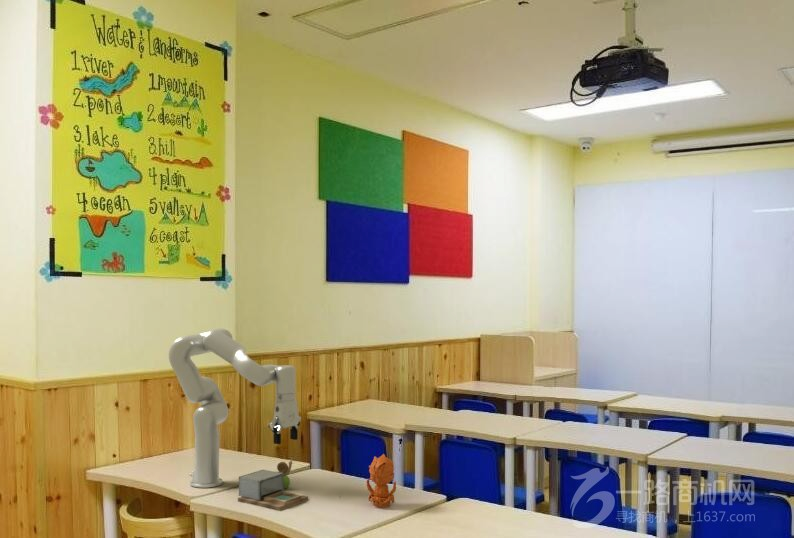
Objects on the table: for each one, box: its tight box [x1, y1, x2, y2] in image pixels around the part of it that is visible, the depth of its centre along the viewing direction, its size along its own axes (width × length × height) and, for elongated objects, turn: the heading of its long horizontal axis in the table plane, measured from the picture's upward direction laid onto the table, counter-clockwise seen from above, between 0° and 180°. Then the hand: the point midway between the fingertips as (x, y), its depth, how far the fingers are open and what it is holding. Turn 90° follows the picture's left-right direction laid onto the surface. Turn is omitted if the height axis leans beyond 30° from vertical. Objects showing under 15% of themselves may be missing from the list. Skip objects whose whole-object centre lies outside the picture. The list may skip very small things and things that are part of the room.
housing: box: [238, 469, 285, 501], centre depth 273 cm, size 10×13×7 cm
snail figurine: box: [276, 458, 293, 490], centre depth 285 cm, size 5×6×12 cm
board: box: [237, 490, 309, 511], centre depth 270 cm, size 20×16×2 cm
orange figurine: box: [366, 453, 397, 508], centre depth 266 cm, size 11×11×18 cm
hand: (285, 441), depth 286 cm, fingers open, 9 cm apart
